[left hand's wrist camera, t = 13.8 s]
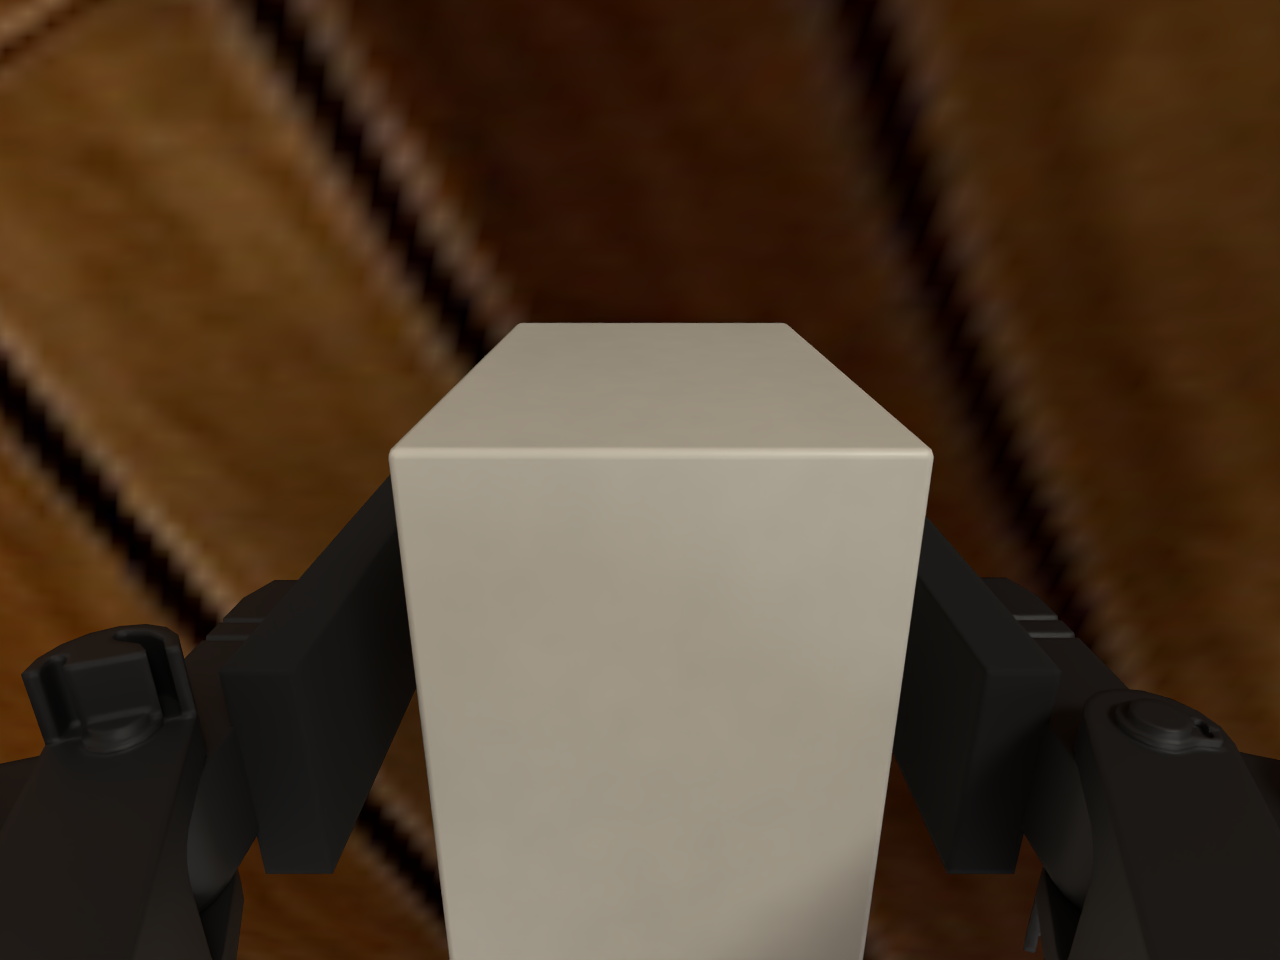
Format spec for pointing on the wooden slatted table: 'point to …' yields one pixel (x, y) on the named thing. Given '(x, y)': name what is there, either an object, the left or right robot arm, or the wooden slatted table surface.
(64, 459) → the wooden slatted table surface
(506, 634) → the beam
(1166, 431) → the wooden slatted table surface
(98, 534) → the wooden slatted table surface
